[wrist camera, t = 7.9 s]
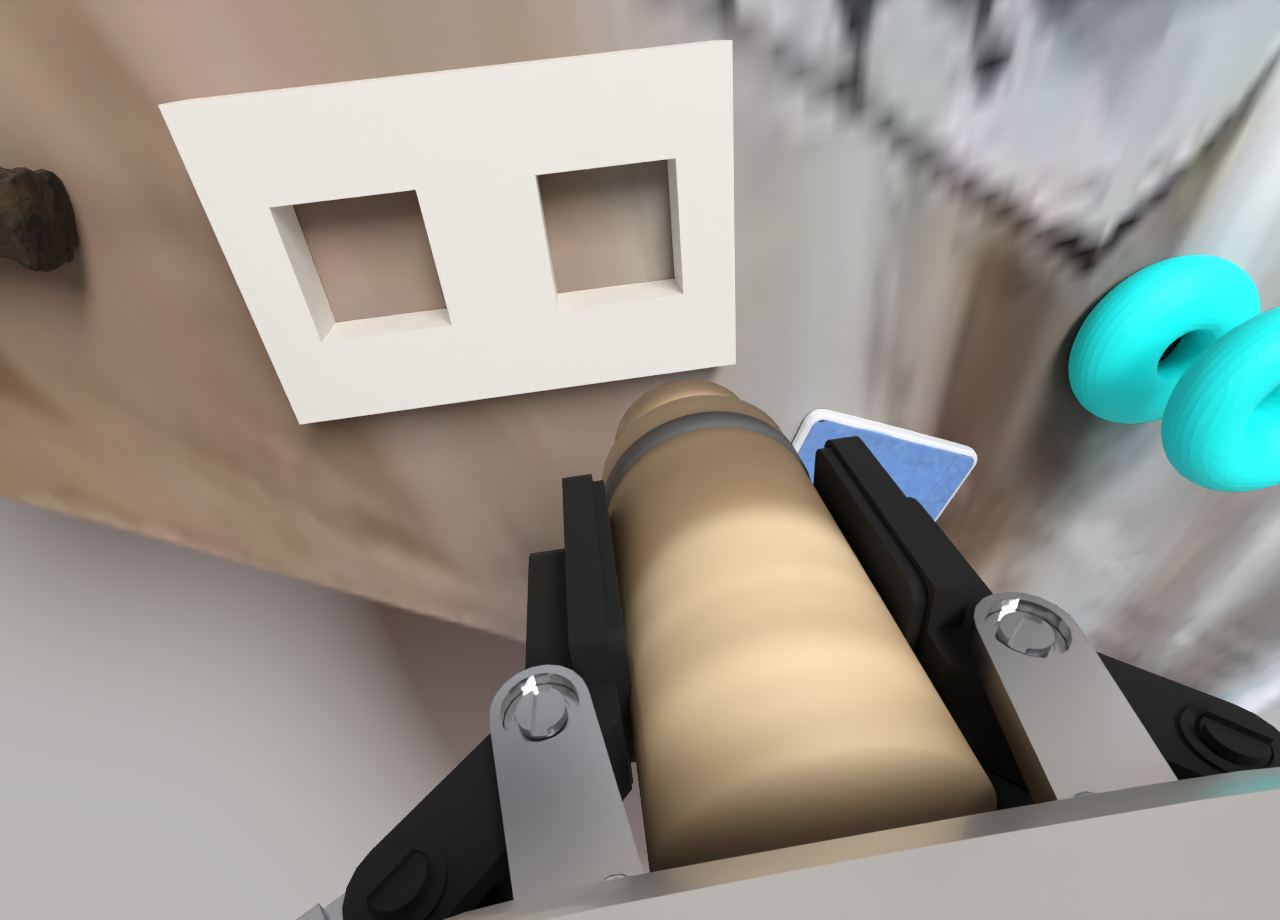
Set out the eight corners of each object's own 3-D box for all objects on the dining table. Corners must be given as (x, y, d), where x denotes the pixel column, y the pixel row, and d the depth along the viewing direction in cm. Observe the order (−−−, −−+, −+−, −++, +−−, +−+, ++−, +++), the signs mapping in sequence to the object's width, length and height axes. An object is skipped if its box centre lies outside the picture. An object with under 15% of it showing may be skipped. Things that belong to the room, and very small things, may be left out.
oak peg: (583, 374, 14) (628, 782, 6) (774, 348, 14) (1042, 713, 6) (606, 525, 16) (660, 958, 8) (770, 501, 16) (965, 903, 9)
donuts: (1272, 313, 27) (1473, 312, 28) (1100, 247, 35) (1261, 249, 36) (1157, 507, 32) (1330, 499, 34) (1032, 410, 41) (1174, 407, 42)
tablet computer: (837, 646, 52) (843, 659, 50) (690, 625, 48) (694, 639, 47) (975, 444, 42) (986, 455, 41) (806, 400, 39) (813, 410, 38)
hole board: (188, 99, 27) (158, 104, 25) (718, 40, 28) (732, 40, 26) (314, 400, 34) (299, 424, 32) (724, 344, 36) (735, 363, 33)
